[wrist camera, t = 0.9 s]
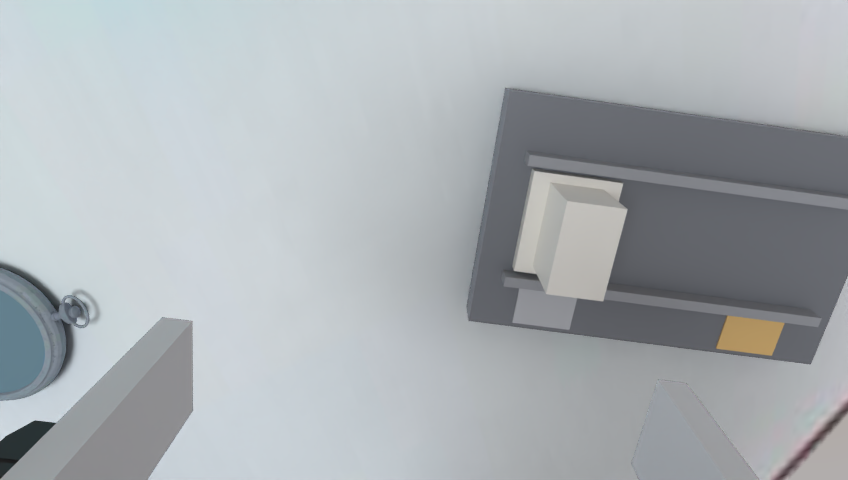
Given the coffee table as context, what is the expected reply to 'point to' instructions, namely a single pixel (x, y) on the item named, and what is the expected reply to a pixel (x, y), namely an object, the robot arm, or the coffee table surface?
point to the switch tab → (570, 232)
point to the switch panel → (676, 227)
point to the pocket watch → (30, 336)
